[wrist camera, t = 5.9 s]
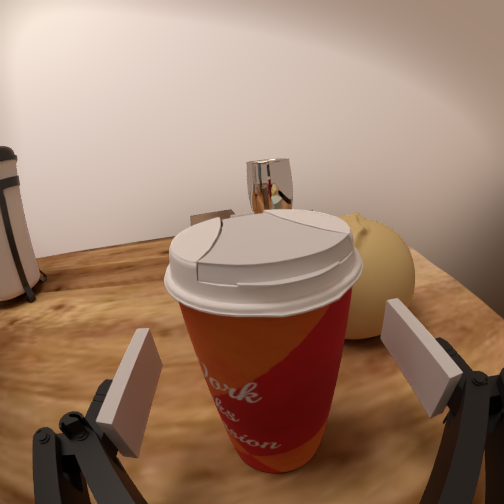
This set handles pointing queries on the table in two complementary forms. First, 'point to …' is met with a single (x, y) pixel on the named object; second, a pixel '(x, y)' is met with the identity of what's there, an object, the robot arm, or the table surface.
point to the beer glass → (269, 185)
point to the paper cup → (268, 324)
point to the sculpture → (377, 275)
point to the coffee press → (14, 236)
